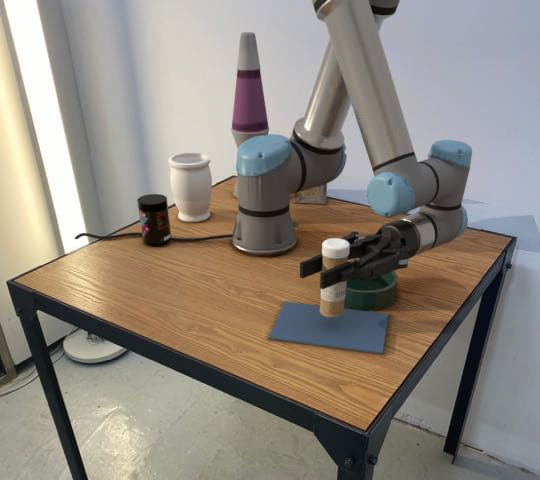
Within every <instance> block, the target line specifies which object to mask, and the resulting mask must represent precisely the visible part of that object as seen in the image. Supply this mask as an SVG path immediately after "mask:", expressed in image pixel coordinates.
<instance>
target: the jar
mask: <svg viewBox="0 0 540 480" xmlns="http://www.w3.org/2000/svg"><path fill="white" fill-rule="evenodd" d="M167 160H168V162H167V163H168V165H169V166H170V171H169V182H170V188H171V192H172V196H173V199H174V200H173V201H174V204H175V206H176V208H177V210H178V211H179V212H178V214H177V217H178V219H179V220H181V221H182V222H186V223H187V222H188V223H198V222H204V221H206V220H207V219H210V217H211V212H210V211H209V208H210V207H211V202H212V191H213V179H212V178H213V177H212V172H211V167H210V166H209V164H210V163H211V157H210V155H208V154H207V153H202V152H183V153H177V154H174V155H172V156H170V157H168V158H167Z"/></svg>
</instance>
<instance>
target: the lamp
mask: <svg viewBox="0 0 540 480" xmlns="http://www.w3.org/2000/svg"><path fill="white" fill-rule="evenodd" d="M255 33H256V32H253V31H246V32H245V31H244V32H241V33H240V37H239V46H238V55H237V64H236V79H235V81H236V82H235V91H234V102H233V111H232V121H231V128H230V132H231V135H232V137H233V140H234V143H235V145H236V148H237V149H238V148H239V146H240V145H241V144H242V143H243V142H244V141H246V140H248V139H250V138H253V137H256V136H261V135H264V136H266V135H268V134H269V132H270V127H269V121H268V113H267V108H266V101H265V93H264V87H263V81H262V74H261V63H260V55H259V50H258V44H257V37H256V34H255ZM232 196H233V197H235V198H236V199H238V180H237V179H236V180H235V184H234V188H233V193H232Z"/></svg>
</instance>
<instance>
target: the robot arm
mask: <svg viewBox="0 0 540 480" xmlns="http://www.w3.org/2000/svg"><path fill="white" fill-rule="evenodd" d="M400 2H401V0H311V3H312V6H313V9H314V12H315V15H316V18H317V20H318V21H320V22H323V23H325V26H326V29H327V32H328V35H329V39H328V42H327V45H326V48H325V51H324V55H323V58H322V61H321V64H320V66H319V70H318V74H317V77H316V79H315V83H314V86H313V89H312V91H311V95H310V98H309V101H308V104H307V107H306V111H305V114H304V116H303V117H299V118H298V119H297V120H296V121H295V123H294V126H293V129H292V132H291V135H290V137H289V138H288V137H287V136H285V135H282V134H275V133H274V134H273V133H268V135H266V136H264V135H261V136H256V137H253V138H250V139H248V140H246V141H244V142H243V143H242V144H241V145H240V146H239V148H237V150H236V151H237V152H236V165H235V170H236V175H237V177H236V180H238V198H237V201H238V204H237V205H238V213H237V215H236V216H237V217H236V220H235V224H234V227H233V231H232V233H230V234H221V235H210V236H205V237H191V238H190V237H188V238H186V237H171V241H170V242H204V241H209V240H210V241H211V240H217V239H228V238H231V245H232V247H233V248H234V250H236V251H237V252H238V253H241V254H243V255H246V256H247V255H248V256H252V257H261V258H263V257H275V256H281V255H284V254H287V253H289V252H292V251H293V250H294V249H295V248H296V246H297V244H298V236H297V231H296V229H297V228H300V222H298V221H294V220H293V218H292V215H291V212H290V206H291V205H290V204H291V195H293V193H296V192H300V191H304V190H307V189H311V188H314V187H318V186H322V185H325V184H327V185H328V184H329V183H331V182H333V181H334V180H336V179H338V178H339V177H340V175H341V174H342V172H343V171H344V169H345V167H346V163H347V155H348V154H347V153H346V150H347V146H346V144H345V135H344V133H343V131H342V129H343V127H344V123H345V122H346V118H347V117H348V114H349V111H350V108H351V107H352V110H353V114H354V116H355V120H356V122H357V126H358V129H359V131H360V135H361V138H362V142H363V144H364V147H365V151H366V153H367V157H368V161H369V162H370V166H371V169H372V173H373V177H372V178H371V179H370V181H369V182H368V184H367V188H366V190H367V194H366V199H367V203H368V204H369V208H371V210H372V211H373V212H374V213H375V214H376V215H378V216H380V217H382V218H393V217H396V216H400V215H405V214H408V213H409V212H411V211H414V210H416V209H418V208H419V210H418V211H416V212H414V213H412V214H409V215H407V216H404V217H401V218H398V219H396V220H393V221H390V222H387V223H385V224H383V225H381V226H380V227H379V229H378V230H377V231H376V233H374V234H368V235H366V236H360V234H359V231H356V230H355V231H351V232H350V233H349V234H348V235H344V236H342V237H340V238H339V239H344V240H346V241H348V242H349V244H350V248H349V255H348V261H352V260H353V261H354V266H352V263H351V262H347V263H344V264H342V265H339V266H337V267H334V268H332V269H329V270H327V271H324V272H322V262H323V256H322V255H323V254H322V245H321V246H320V254H317V255H315V256H312V257H310V258H308V259H306V260H303V261H300V262H299V278H300V279H303V280H304V279H305V278H307V277H311V276H313V275H315V274H318V273H319V275H320V277H319V289H320V290H321V289H325V288H328V287H330V286H332V285H335V284H337V283H339V282H345V281H347V280H350V279H352V278H360V277H362V278H363V280H364V281H370V280H372V279H375V278H377V277H380V276H382V275H385V274H387V273H389V272H392V271H397V270H401V269H407V268H408V265H409V259H411V258H414V257H415V256H418V255H420V254H422V253H425V252H428V251H430V250H432V249H434V248H438V247H440V246H443V245H445V244H448V243H451V242H453V241H454V240H455V239H457V238H459V237H460V236H461V235H463V234H464V233H465V232H466V230H467V227H468V225H469V218H468V213H467V209H466V208H465V207H464V206H463V204H462V202H463V199H464V195H465V191H466V187H467V182H468V178H469V173H470V170H471V163H472V157H473V149H472V147H471V145H469V144H468V143H466V142H463V141H460V140H454V139H441V140H440V139H439V140H436V141H434V142H433V143H432V144H431V145H430V148H429V152H428V154H427V159H423V160H420V161H418V158H417V155H416V153H415V149H414V146H413V142H412V140H411V136H410V133H409V129H408V126H407V123H406V119H405V116H404V112H403V110H402V109H403V108H402V106H401V103H400V100H399V96H398V93H397V89H396V86H395V82H394V80H393V76H392V74H391V69H390V67H389V64H388V59H387V56H386V53H385V50H384V46H383V43H382V40H381V36H380V30H381V28H382V26H383V23H384V20H386V19H389V18H390V17H392V16H393V17H394V15H395V14H396V12H397V9H398V6H399V4H400ZM130 236H139V237H143V235H142V232H135V231H134V232H125V233H119V234H113V235H96V234H93V233H88V232H82V233H81V232H80V233H78V234H77V235H76V236H75V237H74V238H73V239H74V240H79V239H80V238H81V237H89V238H92V239H96V240H110V239H111V240H112V239H117V238H118V239H119V238H125V237H130ZM371 270H372V273H371Z"/></svg>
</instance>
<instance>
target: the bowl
mask: <svg viewBox="0 0 540 480" xmlns="http://www.w3.org/2000/svg"><path fill="white" fill-rule="evenodd" d="M348 262H351V263H352V266H354V260H348ZM371 273H372V270H371ZM398 281H399V276H398V274H397V272H396V270H394V271H392V272H389V273H387V274H385V275H382V276H380V277H377V278H375V279H372V280H370V281H364V280H363V278H362V277H360V278H352V279H350V280H347V283H346V295H345V302H344V309H351V310H360V311H368V312H373V311H377V310H378V311H379V310H382V309H385V308H387V307H389V306H391V305H392V304H393V303H394V302H395V300H396V297H397V288H398Z"/></svg>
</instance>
